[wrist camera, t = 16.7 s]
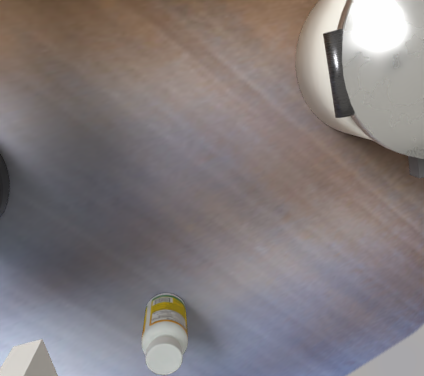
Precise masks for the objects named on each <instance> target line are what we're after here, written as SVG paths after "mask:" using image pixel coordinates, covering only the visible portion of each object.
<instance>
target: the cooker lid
mask: <svg viewBox="0 0 424 376" xmlns="http://www.w3.org/2000/svg"><path fill="white" fill-rule="evenodd" d="M323 38H324V45H325V51H326V58H327V65H328V71H329V78H330V85H331V91H332V98H333V105H334V111H335V118H343V117H348V116H351V118H352V119H353V121H354V122H355V123H356V125H357V126H358V127H359V128H360V129H361V130H362V131H363V132H364V133H365V134H366V135H367V136H368V137H369V138H371V139H372V140H373V141H374V142H376V143H378V144H379V145H381V146H383V147H385V148H387V149H389V150H392V151H394V152H397V153H400V154H404V155H407V156H411V157H416V158H420V159H424V0H347V1H346V3H345V6H344V8H343V11H342V13H341V17H340V20H339V24H338V27H337V30H334V31H331V32H327V33H324V34H323Z"/></svg>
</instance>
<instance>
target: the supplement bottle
mask: <svg viewBox="0 0 424 376" xmlns="http://www.w3.org/2000/svg"><path fill="white" fill-rule="evenodd" d="M141 344H142V349H143V352H144V354H145V355H146V364H147V366H148V368H149V369H150V370H151V371H152V372H154V373H156V374H160V375H167V374H171V373H173V372H175V371H176V370H177V369H178V368H179V367H180V366H181V363H182V359H183V354H184V353H185V351H186V348H187V345H188V334H187V319H186V307H185V304H184V302H183V301H182V299H180V298H179V297H178V296H176V295H174V294H171V293H162V294H158V295H156V296H154V297H153V298H152V299H151V300H150V301H149V302H148V304H147V306H146V310H145V317H144V326H143V333H142V342H141Z"/></svg>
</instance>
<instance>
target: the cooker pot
mask: <svg viewBox="0 0 424 376" xmlns="http://www.w3.org/2000/svg"><path fill="white" fill-rule="evenodd" d="M346 1H347V0H319V1H318V2H317V3H316V5H315V6H314V7H313V9H312V10H311V12H310V13H309V15H308V17H307V19H306V21H305V22H304V25H303V27H302V30H301V32H300V35H299V39H298V43H297V49H296V61H295V67H296V76H297V81H298V85H299V88H300V91H301V93H302V96H303V98H304V100H305V102H306V103H307V105H308V106H309V108H310V109H311V111H312V112H313V113H314V114H315V115H316V116H317V117H318V118H319V119H320V120H321V121H323V122H324V123H325V124H326V125H328V126H330V127H332V128H334V129H336V130H338V131H341V132H344V133H347V134H351V135H355V136H358V137H362V138H366V139H370V140H372V139H371V138H369V137H368V136H367V135H366V134H365V133H364V132H363V131H362V130H361V129H360V128H359V127H358V126H357V125H356V123H355V122H354V121H353V119H352V118H351V116H348V117H343V118H335V111H334V105H333V98H332V91H331V85H330V78H329V71H328V65H327V58H326V51H325V45H324V38H323V34H324V33H327V32H331V31H334V30H337V27H338V24H339V20H340V17H341V13H342V11H343V8H344V6H345V3H346ZM408 159H409V169H410V175H412V176H415V177H418V178H423V177H424V159H420V158H416V157H411V156H408Z"/></svg>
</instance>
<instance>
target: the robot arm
mask: <svg viewBox="0 0 424 376" xmlns="http://www.w3.org/2000/svg"><path fill="white" fill-rule="evenodd" d="M9 187H10V186H9V176H8V171H7V168H6V165H5V162H4V160H3V158H2V156H1V154H0V217H1V215H2V213H3V211H4V209H5V207H6V205H7V201H8V197H9ZM0 376H58V375H57V373H56V370H55V368H54V365H53V363H52V361H51V358H50V356H49V354H48V351H47V349H46V347H45V344H44V342H43V340H42V339H40V340H36V341H33V342H29V343H25V344H22V345H18V346H14V347H13V348H12V350H11V351H10V353H9V355H8V356H7V358H6V360H5V361H4V363H3V365H2V366H1V368H0Z"/></svg>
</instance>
